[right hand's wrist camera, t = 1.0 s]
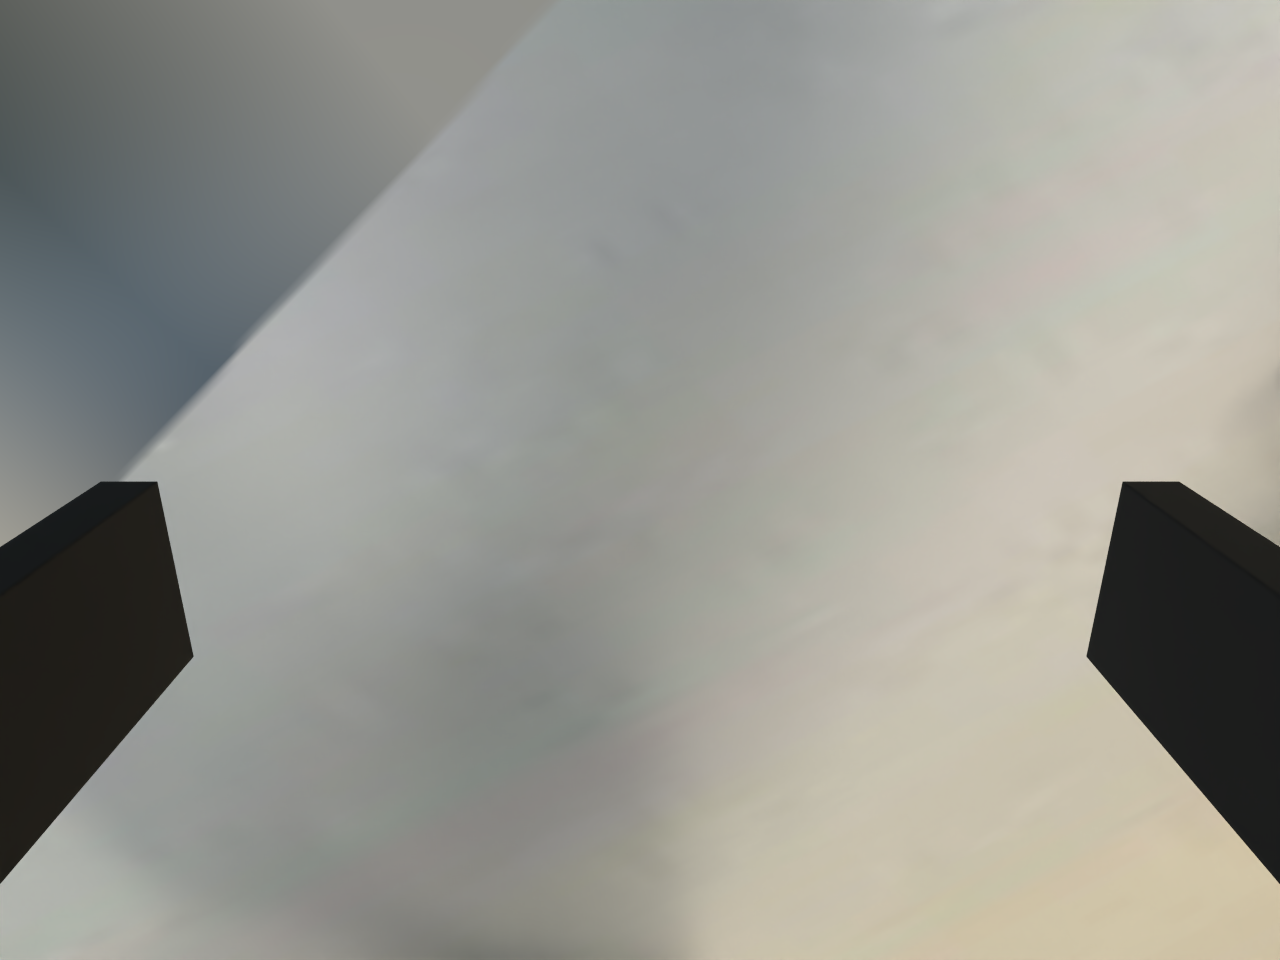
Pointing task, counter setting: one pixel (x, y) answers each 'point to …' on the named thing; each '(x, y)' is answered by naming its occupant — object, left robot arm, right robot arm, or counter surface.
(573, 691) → the counter surface
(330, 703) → the counter surface
